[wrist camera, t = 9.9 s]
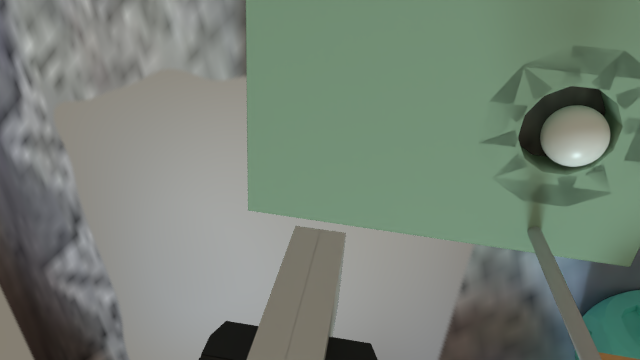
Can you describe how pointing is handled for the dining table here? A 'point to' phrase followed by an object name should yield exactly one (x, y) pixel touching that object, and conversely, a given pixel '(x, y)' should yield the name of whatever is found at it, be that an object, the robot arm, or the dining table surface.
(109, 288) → the dining table surface
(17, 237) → the dining table surface
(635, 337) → the decorative dice
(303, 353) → the robot arm
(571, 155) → the ball
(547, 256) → the green
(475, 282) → the dining table surface
